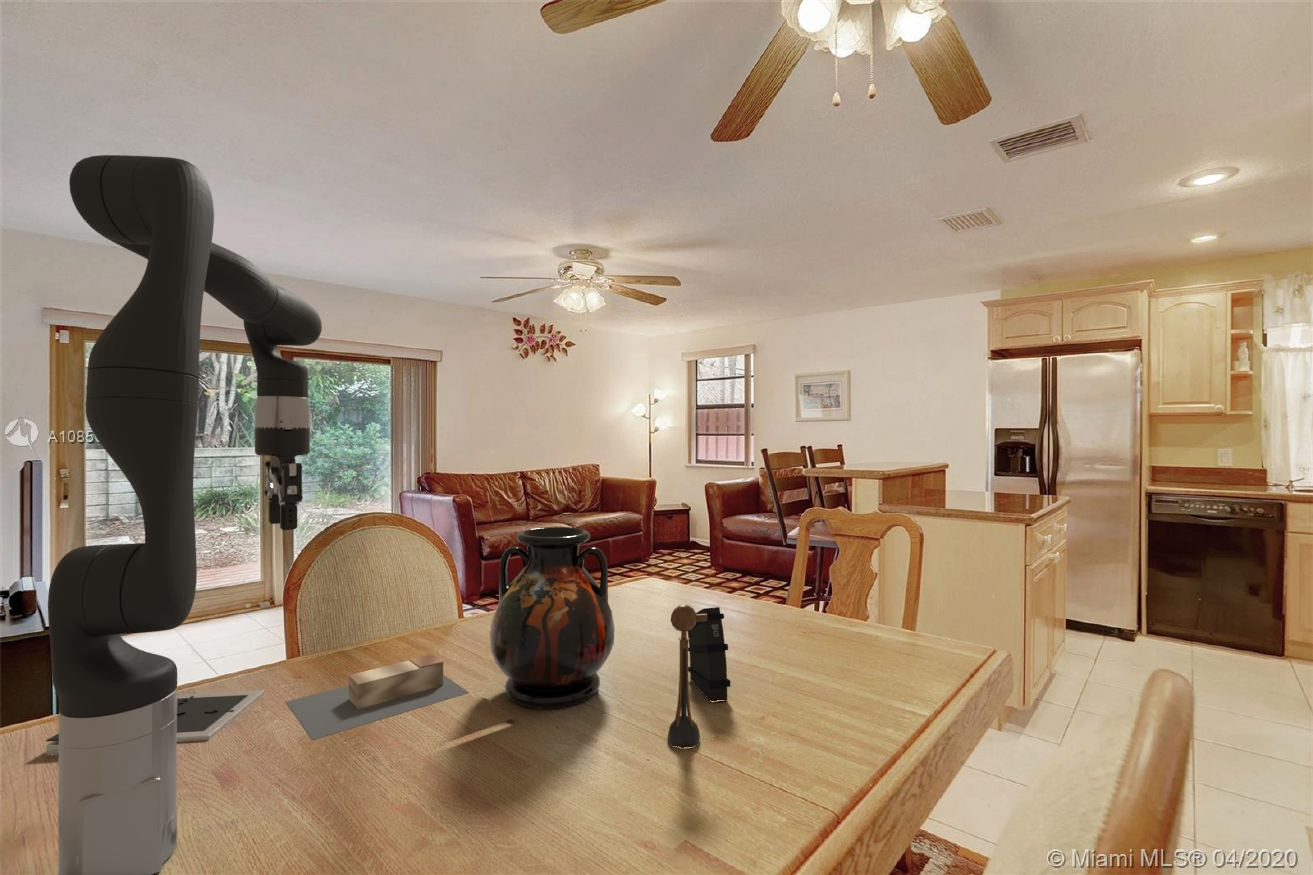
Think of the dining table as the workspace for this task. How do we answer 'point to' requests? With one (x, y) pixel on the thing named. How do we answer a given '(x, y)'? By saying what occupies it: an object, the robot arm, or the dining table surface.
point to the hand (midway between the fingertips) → (282, 526)
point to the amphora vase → (552, 620)
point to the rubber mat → (341, 714)
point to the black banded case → (709, 655)
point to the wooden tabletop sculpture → (684, 681)
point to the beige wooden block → (395, 681)
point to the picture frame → (199, 715)
